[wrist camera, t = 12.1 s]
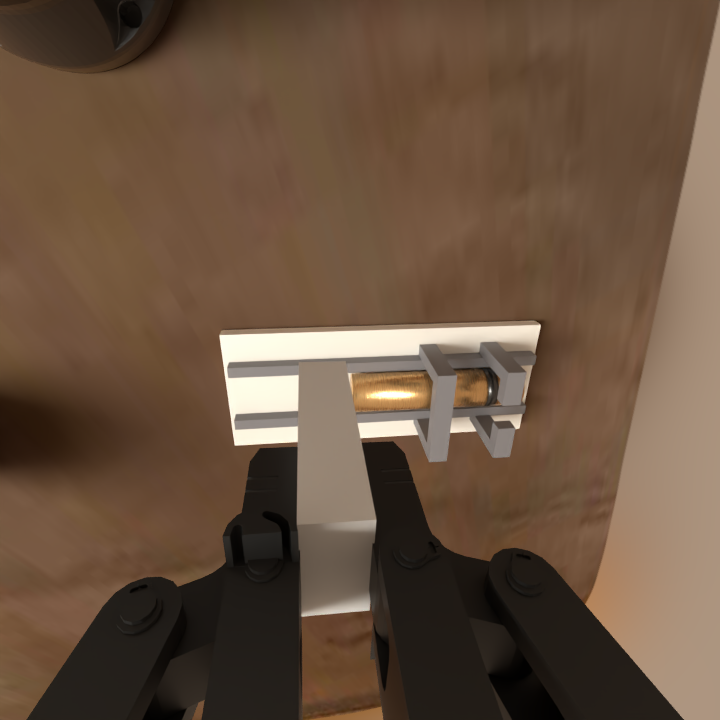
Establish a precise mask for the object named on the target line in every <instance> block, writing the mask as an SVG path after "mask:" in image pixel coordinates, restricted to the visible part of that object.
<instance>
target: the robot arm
mask: <svg viewBox="0 0 720 720" xmlns="http://www.w3.org/2000/svg"><path fill="white" fill-rule="evenodd" d="M172 4H173V0H0V47H1V48H3V49H5V50H7V51H9V52H10V53H12V54H15V55H17V56H19V57H21V58H24V59H26V60H29V61H31V62H35V63H38V64H41V65H44V66H47V67H50V68H54V69H57V70H62V71H67V72H74V73H95V72H102V71H107V70H111V69H114V68H117V67H120V66H122V65H124V64H126V63H128V62H130V61H131V60H133V59H135V58H136V57H137V56H139V55H140V54H141V53H143V52H144V51H145V50H146V49H147V48H148V47H149V46H150V45H151V43H152V42H153V41H154V40H155V38H156V37H157V36H158V34H159V33H160V31H161V29H162V28H163V26H164V24H165V22H166V20H167V18H168V15H169V13H170V10H171V7H172ZM223 543H224V550H225V557H226V563H225V564H224V565H223V566H222V567H220V568H219V569H217V570H216V571H215V572H213V573H212V574H209V575H207V576H205V577H203V578H201V579H198V580H195V581H193V582H190V583H187V584H184V585H182V586H179V587H177V586H176V584H175V583H174V582H173V581H171V580H168V579H165V578H162V577H146V578H143V579H140V580H137V581H135V582H132V583H129V584H128V585H126V586H125V587H123V588H122V589H120V590H119V591H117V592H116V593H115V594H114V595H113V596H112V597H111V598H110V599H109V600H108V602H107V603H106V604H105V605H104V606H103V607H102V609H101V610H100V612H99V613H98V615H97V616H96V618H95V619H94V621H93V622H92V624H91V625H90V627H89V628H88V629H87V631H86V632H85V634H84V635H83V637H82V638H81V640H80V641H79V643H78V644H77V646H76V647H75V649H74V650H73V652H72V653H71V655H70V656H69V658H68V659H67V661H66V662H65V664H64V665H63V666H62V668H61V669H60V671H59V672H58V674H57V675H56V677H55V678H54V680H53V681H52V683H51V684H50V686H49V687H48V689H47V690H46V692H45V693H44V695H43V696H42V698H41V699H40V701H39V702H38V703H37V705H36V706H35V708H34V709H33V711H32V712H31V714H30V715H29V717H28V718H27V720H192V717H193V715H194V712H195V710H196V707H197V705H198V702H201V701H203V700H205V702H204V708H203V714H202V720H302V630H301V616H312V615H323V614H334V613H345V612H356V611H367V610H369V609H370V601H371V608H372V615H373V630H372V642H371V657H370V659H375V662H376V669H377V676H378V683H379V691H380V698H381V705H382V712H383V719H384V720H684V719H683V718H682V717H681V716H680V715H679V714H678V712H677V711H676V710H675V709H674V708H673V707H672V705H671V704H670V703H669V702H668V701H667V700H666V698H665V697H664V696H663V695H662V694H661V693H660V691H659V690H658V689H657V688H656V687H655V686H654V685H653V683H652V682H651V681H650V680H649V679H648V678H647V677H646V675H645V674H644V673H643V672H642V670H641V669H640V668H639V667H638V666H637V665H636V664H635V662H634V661H633V660H632V659H631V658H630V656H629V655H628V654H627V653H626V652H625V651H624V649H623V648H622V647H621V646H620V645H619V644H618V643H617V641H616V640H615V639H614V638H613V637H612V636H611V634H610V633H609V632H608V631H607V630H606V629H605V627H604V626H603V625H602V624H601V623H600V622H599V620H598V619H597V618H596V617H595V616H594V615H593V613H592V612H591V611H590V610H589V609H588V608H587V606H586V605H585V604H584V603H583V602H582V601H581V599H580V598H579V597H578V596H577V595H576V594H575V592H574V591H573V590H572V589H571V588H570V587H569V585H568V584H567V583H566V582H565V581H564V580H563V578H562V577H561V576H560V575H559V574H558V573H557V571H556V570H555V569H554V568H553V567H552V566H551V565H550V564H549V563H547V562H546V561H545V560H544V559H543V558H542V557H540V556H538V555H536V554H534V553H532V552H530V551H527V550H523V549H518V548H510V549H503V550H501V551H499V552H498V553H496V554H494V556H493V557H492V559H491V561H490V562H489V561H484V560H480V559H475V558H471V557H466V556H463V555H460V554H457V553H454V552H452V551H450V550H449V549H447V548H445V547H444V546H443V545H442V544H441V542H440V541H439V540H438V539H437V538H436V537H435V536H433V535H432V533H431V531H430V529H429V527H428V524H427V521H426V518H425V515H424V511H423V508H422V505H421V502H420V499H419V496H418V493H417V490H416V487H415V484H414V483H413V478H412V474H411V471H410V470H409V465H408V462H407V459H406V456H405V453H404V452H403V451H402V450H401V449H400V448H399V447H398V446H397V445H396V444H395V443H394V442H393V441H392V442H369V443H361V438H360V433H359V428H358V422H357V417H356V412H355V407H354V402H353V397H352V392H351V386H350V381H349V376H348V371H347V366H346V361H335V362H299V380H298V447H281V448H260V449H259V451H258V452H257V453H256V455H255V456H254V457H253V459H252V460H251V461H250V465H249V471H248V480H247V484H246V492H245V496H244V503H243V509H242V513H240V514H239V515H237V516H236V517H235V518H234V519H233V520H232V521H231V522H230V523H229V524H228V525H227V527H226V530H225V532H224V534H223Z"/></svg>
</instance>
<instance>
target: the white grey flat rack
mask: <svg viewBox="0 0 720 720" xmlns="http://www.w3.org/2000/svg"><path fill="white" fill-rule="evenodd" d="M540 327H541V325H540V324H539V323H538V322H536V321H535V320H534V321H501V322H469V323H436V324H404V325H371V326H339V327H306V328H273V329H241V330H222V331H221V333H220V342H221V349H222V357H223V364H224V371H225V378H226V386H227V393H228V400H229V407H230V415H231V422H232V429H233V436H234V444H235V445H252V444H269V443H286V442H298V380H299V362H335V361H346V366H347V371H348V376H349V381H350V375H351V373H376V372H402V371H427V372H428V374H429V376H430V377H431V379H432V381H433V388H432V398H431V408H430V409H409V410H388V411H367V412H356V417H357V422H358V428H359V433H360V438H370V437H387V436H404V435H419V438H420V440H421V443H422V445H423V448H424V450H425V453H426V455H427V458H428V460H429V462H440V461H447V453H448V445H449V437H450V433H454V432H471V431H477V433H478V434H479V436H480V437H481V439H482V441H483V442H484V444H485V446H486V447H487V449H488V451H489V452H490V454H491V455H492V457H493V458H499V457H510V453H511V448H512V443H513V438H514V433H515V429H519V428H520V423H521V418H522V414H524V413H525V409H526V405H525V399H526V394H527V389H528V385H529V380H530V375H531V370H532V365H535V361H536V355H535V351H536V346H537V341H538V337H539V332H540ZM479 368H492V370H493V371H494V372H495V373H496V374H497V375H498V377H499V378H500V385H499V390H498V396H497V399H498V401H499V402H500V403H501V405H494V406H472V407H453V405H454V397H455V389H456V381H457V374H456V373H455V371H454V370H456V369H479ZM524 384H525V392H524V397H523V400H522V402H521V399H522V394H523V389H524Z"/></svg>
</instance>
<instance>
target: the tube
mask: <svg viewBox="0 0 720 720" xmlns="http://www.w3.org/2000/svg"><path fill="white" fill-rule="evenodd" d="M454 371H455V373H456V374H457V381H456V389H455V397H454V405H453V407H472V406H494V405H501V403H500V402H499V401H498V399H497V396H498V390H499V385H500V378H499V377H498V375H497V374H496V373H495V372H494V371H493V370H492V368H479V369H456V370H454ZM350 386H351V392H352V397H353V402H354V407H355V412H367V411H388V410H409V409H430V408H431V398H432V388H433V381H432V379H431V377H430V376H429V374H428V372H427V371H402V372H376V373H351V375H350ZM524 392H525V384H524V389H523V394H522V399H521V402H522V400H523V397H524Z"/></svg>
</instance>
